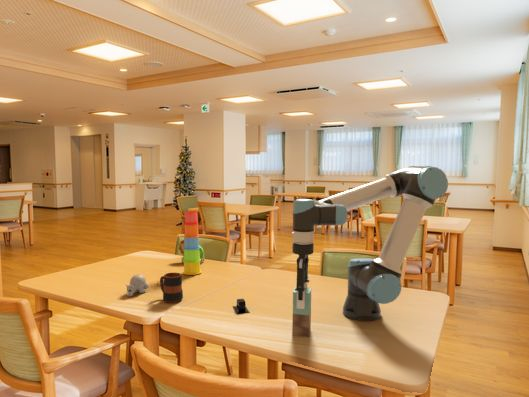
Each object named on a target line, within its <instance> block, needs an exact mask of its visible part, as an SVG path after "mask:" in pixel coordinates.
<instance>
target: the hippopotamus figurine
mask: <svg viewBox="0 0 529 397" xmlns="http://www.w3.org/2000/svg"><path fill="white" fill-rule="evenodd" d="M125 287H126V291H125V292H126V296H127V297H132V296H134V293H139V294H144V293H145V290H148V289H149V284H148V283H147V281H146V278H145V277H144V276H143V275H142V274H135V275H133V276H132V277H131V278H130V280H129V285H127V284H125Z"/></svg>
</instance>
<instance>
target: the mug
mask: <svg viewBox="0 0 529 397" xmlns="http://www.w3.org/2000/svg"><path fill="white" fill-rule="evenodd" d="M182 277H183V276H182V274H181V273H179V272H167V273H165V274H164V275H163V276H161V277H160V278H159V286H160V289H161V292H162V299H163V301H164V303H166V304H167V303H168V304H176V303H180V302H181V301H182V300H183V298H184V294H183V293H184V292H183V289H182V287H183V286H182V284H183V278H182Z"/></svg>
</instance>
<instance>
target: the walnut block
mask: <svg viewBox="0 0 529 397" xmlns="http://www.w3.org/2000/svg"><path fill="white" fill-rule="evenodd" d="M311 311H312V310H311ZM311 311H310V315H300V314H293V313H292V327H291V328H292V334H291V336H293V337H294V336H296V337H303V338H305V337H306V338H310V333H311V331H312V330H311V329H312V327H311V325H312V324H311V323H312V321H311V320H312V319H311V318H312V312H311Z"/></svg>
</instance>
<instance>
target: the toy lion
mask: <svg viewBox="0 0 529 397" xmlns="http://www.w3.org/2000/svg"><path fill="white" fill-rule="evenodd" d="M199 247H200V249H199V252H200V255H199V256H200V259H201V261H200V264H202V263H203V262H204V261H205V259H206V258H205V251H204V249H203V248H204V247H202V246H201V245H199ZM183 248H184V239H181V241H180V242H179V243H178V250H179V251H180V254H182V258H181V262H182V263H183V264H184V262H183V260H184V249H183Z"/></svg>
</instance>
